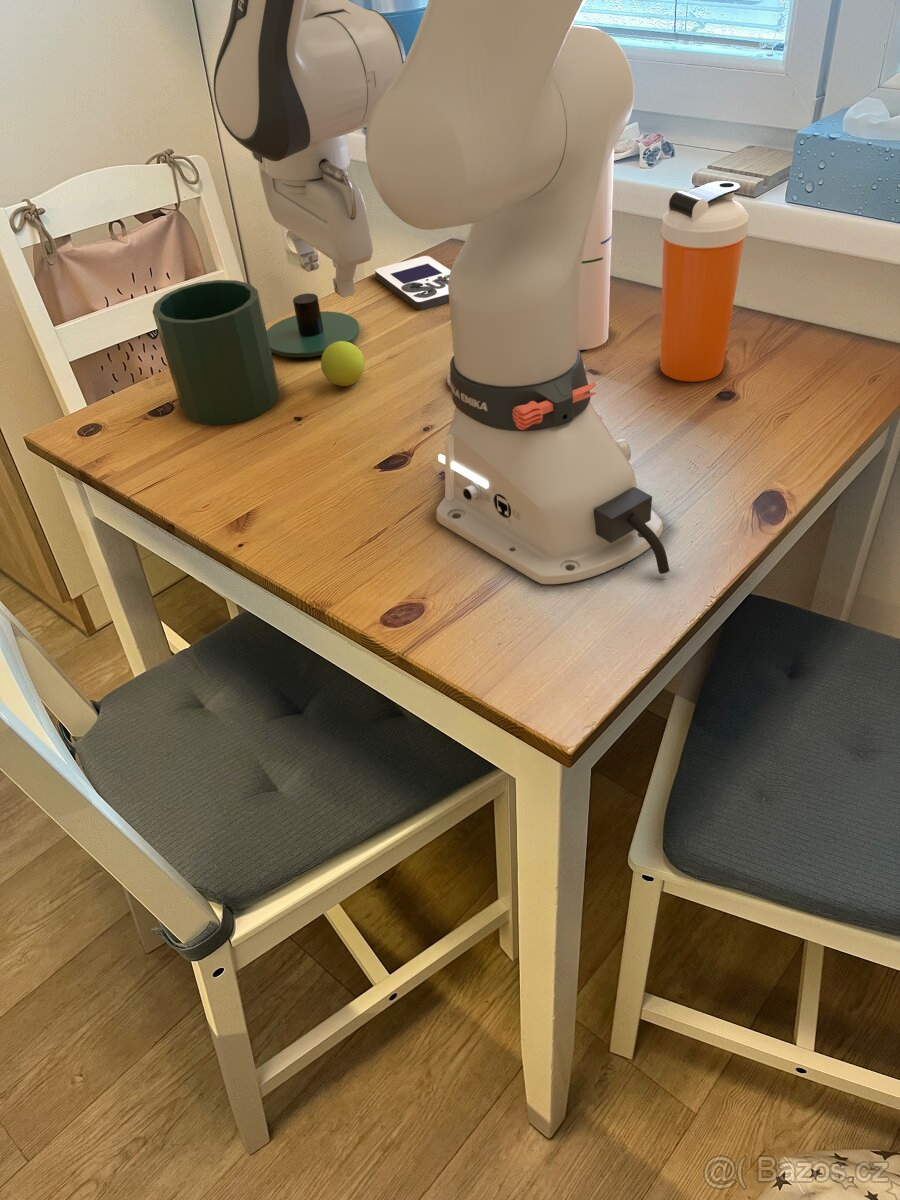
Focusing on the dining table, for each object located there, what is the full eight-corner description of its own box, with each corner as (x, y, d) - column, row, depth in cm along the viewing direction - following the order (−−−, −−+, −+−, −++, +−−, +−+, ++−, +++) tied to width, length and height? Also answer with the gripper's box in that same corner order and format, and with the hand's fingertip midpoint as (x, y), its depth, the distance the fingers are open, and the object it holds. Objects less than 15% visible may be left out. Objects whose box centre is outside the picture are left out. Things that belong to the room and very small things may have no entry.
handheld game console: (428, 262, 141) (427, 253, 140) (475, 294, 131) (474, 285, 130) (374, 277, 139) (373, 268, 138) (418, 311, 128) (417, 301, 127)
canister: (294, 404, 111) (272, 302, 102) (201, 435, 107) (171, 332, 98) (258, 369, 118) (235, 271, 110) (170, 397, 114) (140, 298, 106)
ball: (374, 384, 113) (368, 344, 109) (335, 398, 111) (328, 357, 108) (355, 369, 116) (349, 329, 113) (317, 382, 114) (310, 342, 111)
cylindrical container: (619, 333, 118) (628, 116, 102) (586, 354, 114) (590, 133, 98) (573, 320, 122) (574, 109, 106) (539, 341, 118) (535, 125, 102)
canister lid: (376, 342, 122) (370, 300, 118) (287, 371, 117) (278, 328, 114) (335, 311, 130) (328, 271, 127) (251, 337, 126) (241, 296, 122)
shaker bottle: (747, 367, 108) (771, 187, 96) (694, 394, 105) (712, 210, 92) (688, 344, 114) (703, 171, 101) (636, 368, 110) (645, 192, 98)
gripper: (378, 166, 91) (394, 303, 100) (295, 126, 105) (316, 249, 114) (319, 180, 89) (341, 319, 98) (242, 137, 103) (268, 262, 112)
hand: (327, 281), depth 106 cm, fingers open, 8 cm apart
